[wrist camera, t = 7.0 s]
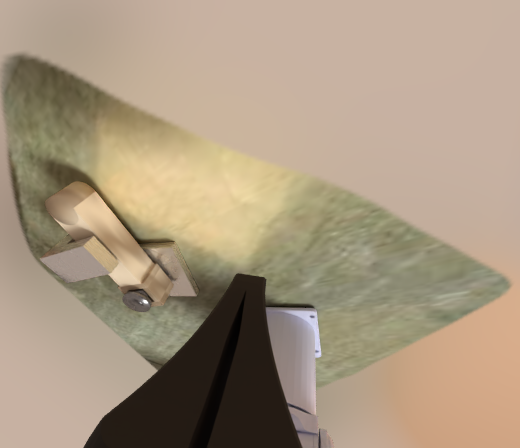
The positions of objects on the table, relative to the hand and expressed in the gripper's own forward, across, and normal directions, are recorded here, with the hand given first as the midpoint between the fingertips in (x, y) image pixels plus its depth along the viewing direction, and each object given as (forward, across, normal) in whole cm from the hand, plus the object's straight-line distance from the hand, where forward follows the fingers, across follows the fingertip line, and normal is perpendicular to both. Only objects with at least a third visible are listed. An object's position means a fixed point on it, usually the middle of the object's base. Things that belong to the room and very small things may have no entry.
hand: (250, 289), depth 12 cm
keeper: (+9, +15, +6) cm, 19 cm away
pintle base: (+9, +12, +11) cm, 18 cm away
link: (+8, +13, +7) cm, 17 cm away
